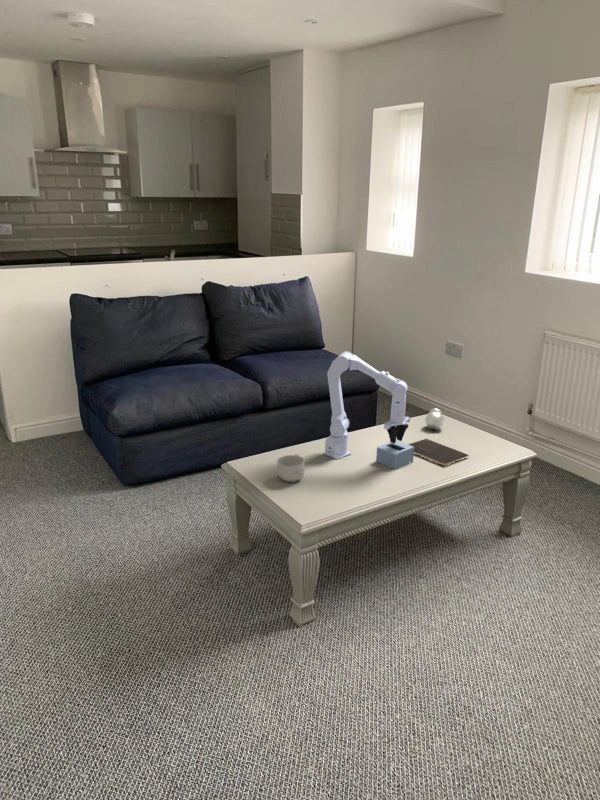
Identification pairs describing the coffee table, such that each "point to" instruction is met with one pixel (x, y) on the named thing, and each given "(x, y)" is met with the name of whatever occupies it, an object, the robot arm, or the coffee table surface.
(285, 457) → the teacup
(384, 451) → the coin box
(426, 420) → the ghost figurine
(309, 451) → the coffee table surface
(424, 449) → the hardcover book
